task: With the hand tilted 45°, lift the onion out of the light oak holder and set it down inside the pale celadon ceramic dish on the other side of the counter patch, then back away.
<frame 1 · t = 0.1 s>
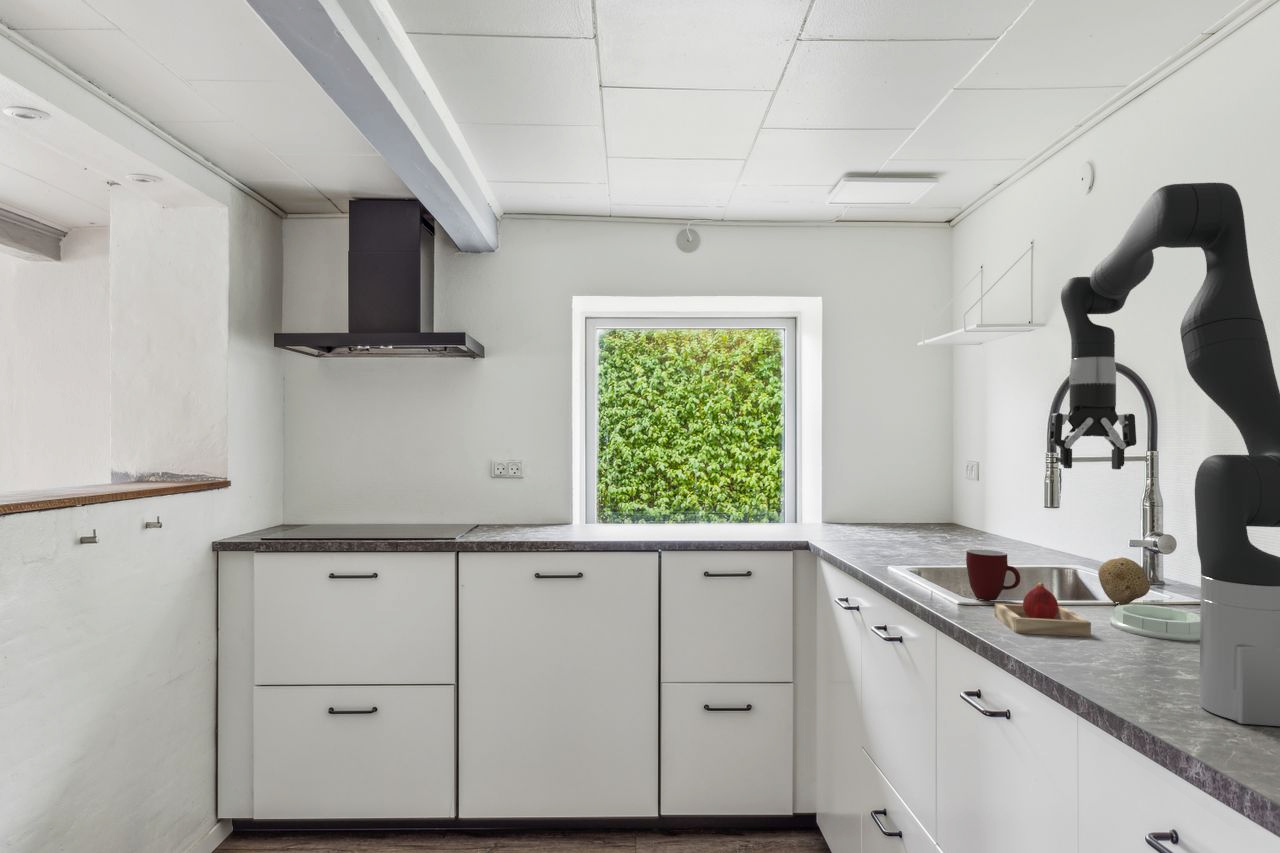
hand: (1092, 468, 142), 29 cm above the countertop, tool pointing down, fingers open, 8 cm apart
natural sponge: (1123, 606, 158), on the countertop
dish: (1158, 629, 139), on the countertop
holder: (1040, 625, 140), on the countertop
onion: (1040, 627, 140), resting in holder
mug: (992, 600, 162), on the countertop
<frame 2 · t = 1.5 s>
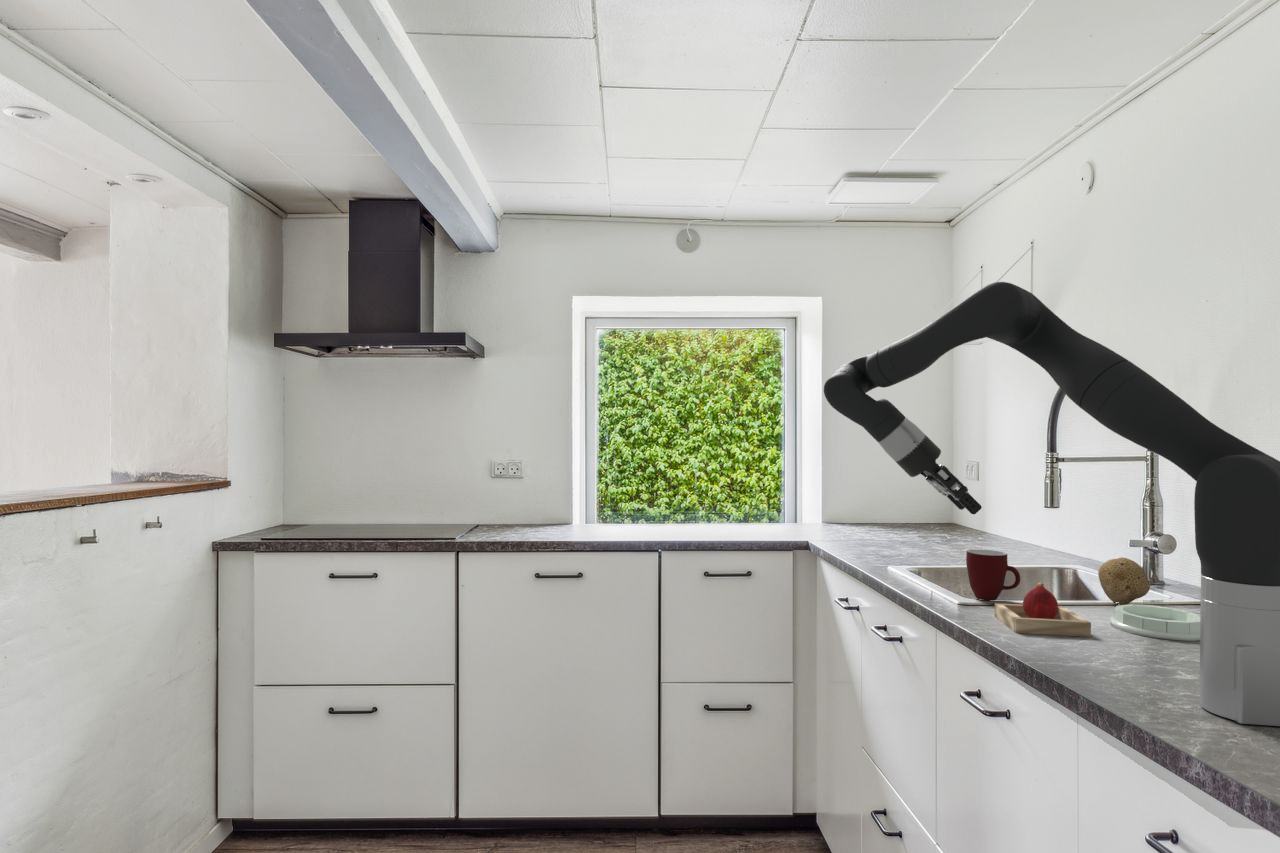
hand: (971, 508, 142), 21 cm above the countertop, tool tilted 45°, fingers open, 8 cm apart
nothing on the countertop moved.
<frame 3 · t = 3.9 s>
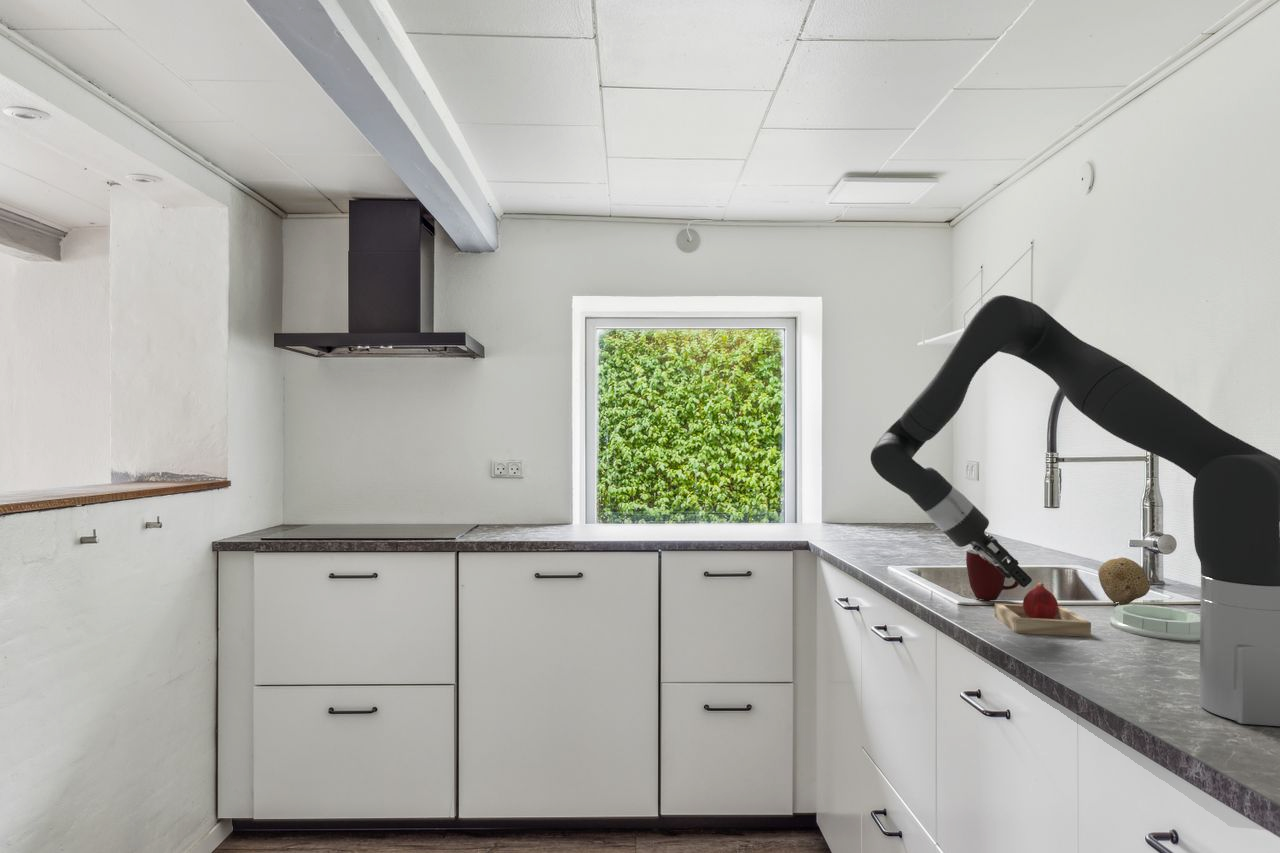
hand: (1019, 579, 141), 8 cm above the countertop, tool tilted 45°, fingers open, 8 cm apart
nothing on the countertop moved.
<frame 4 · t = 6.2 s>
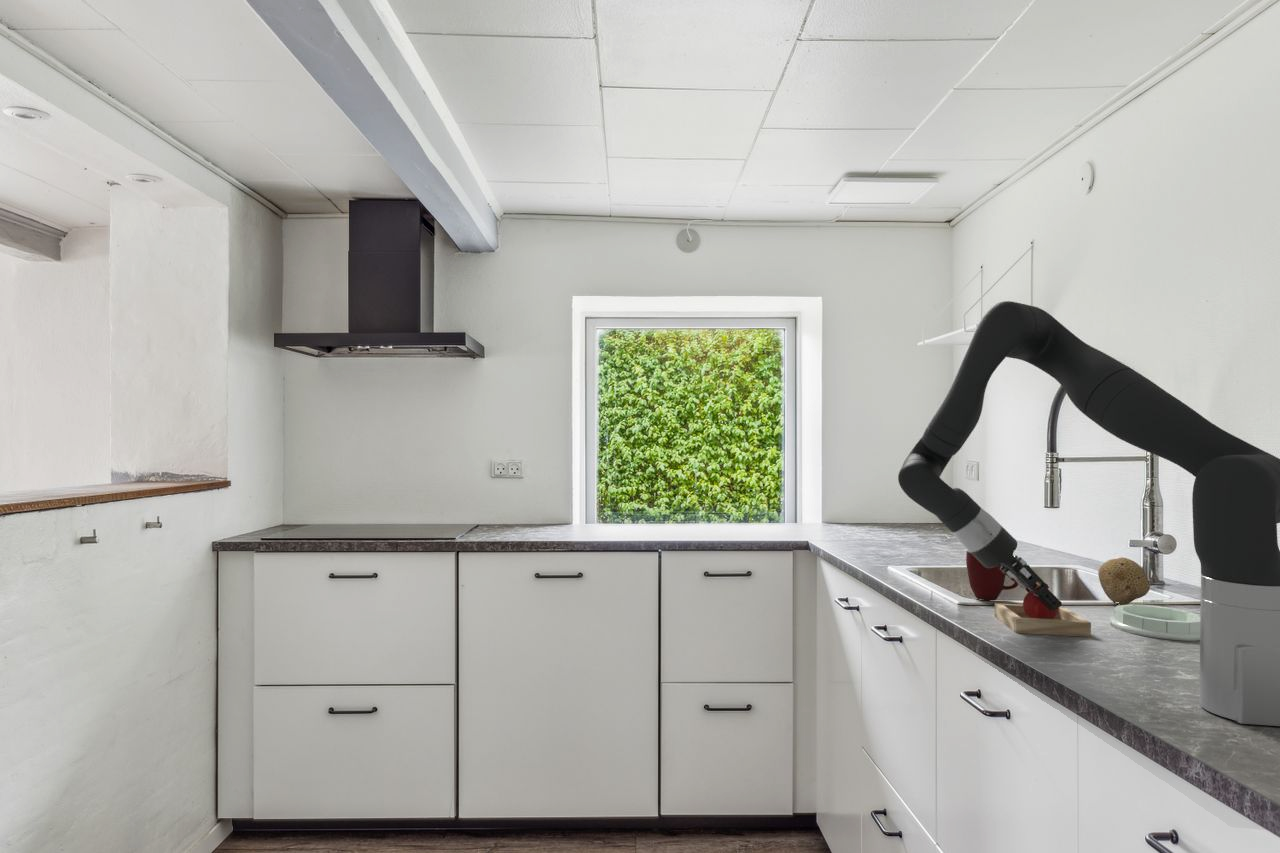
hand: (1050, 603, 140), 4 cm above the countertop, tool tilted 45°, fingers closed on onion, 6 cm apart
onion: (1040, 626, 140), resting in holder, touching gripper
everything else where it was.
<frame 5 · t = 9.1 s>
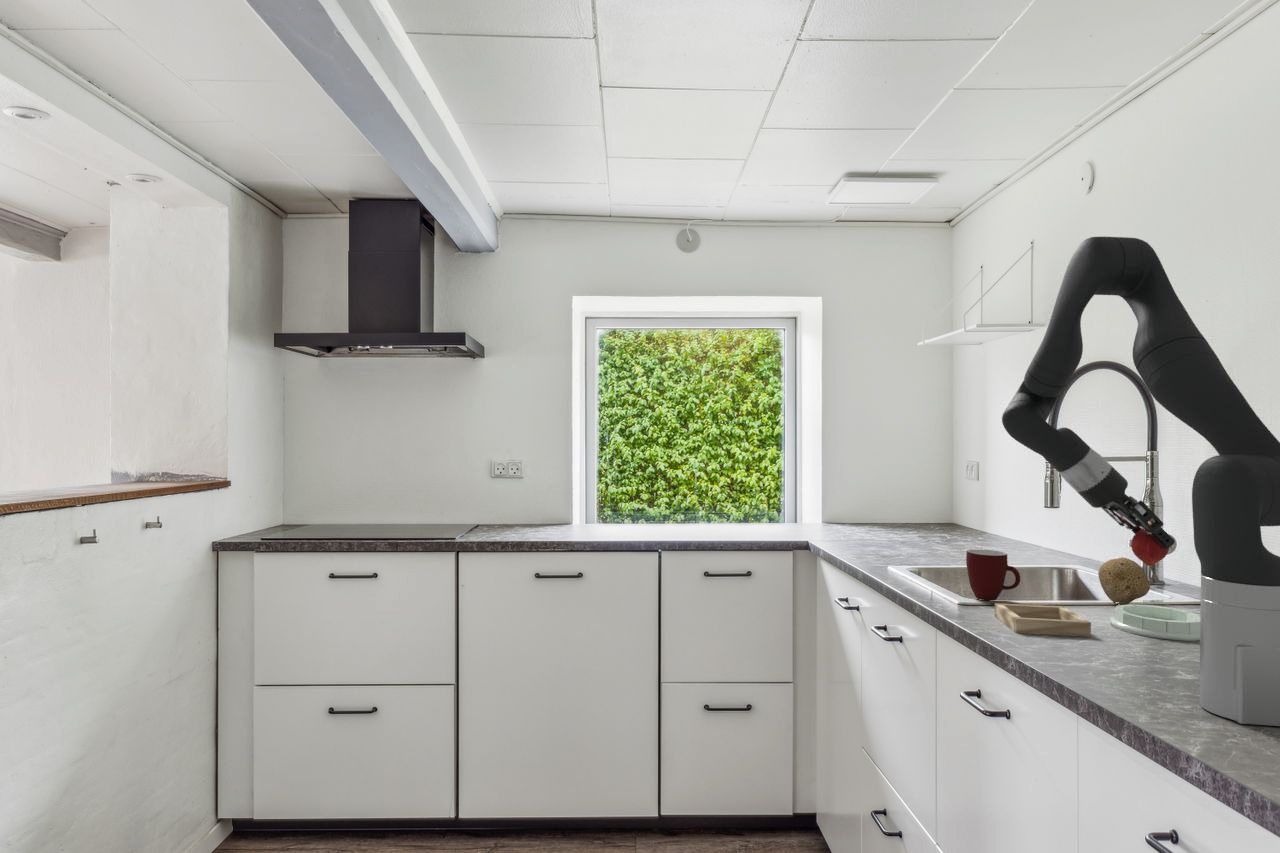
hand: (1160, 542, 139), 16 cm above the countertop, tool tilted 45°, fingers closed on onion, 6 cm apart
onion: (1149, 566, 139), point 11 cm above the countertop, touching gripper
everything else where it was.
when the fingers open (7 cm above the countertop, at t = 12.0 s): onion drops 1 cm, resting on dish.
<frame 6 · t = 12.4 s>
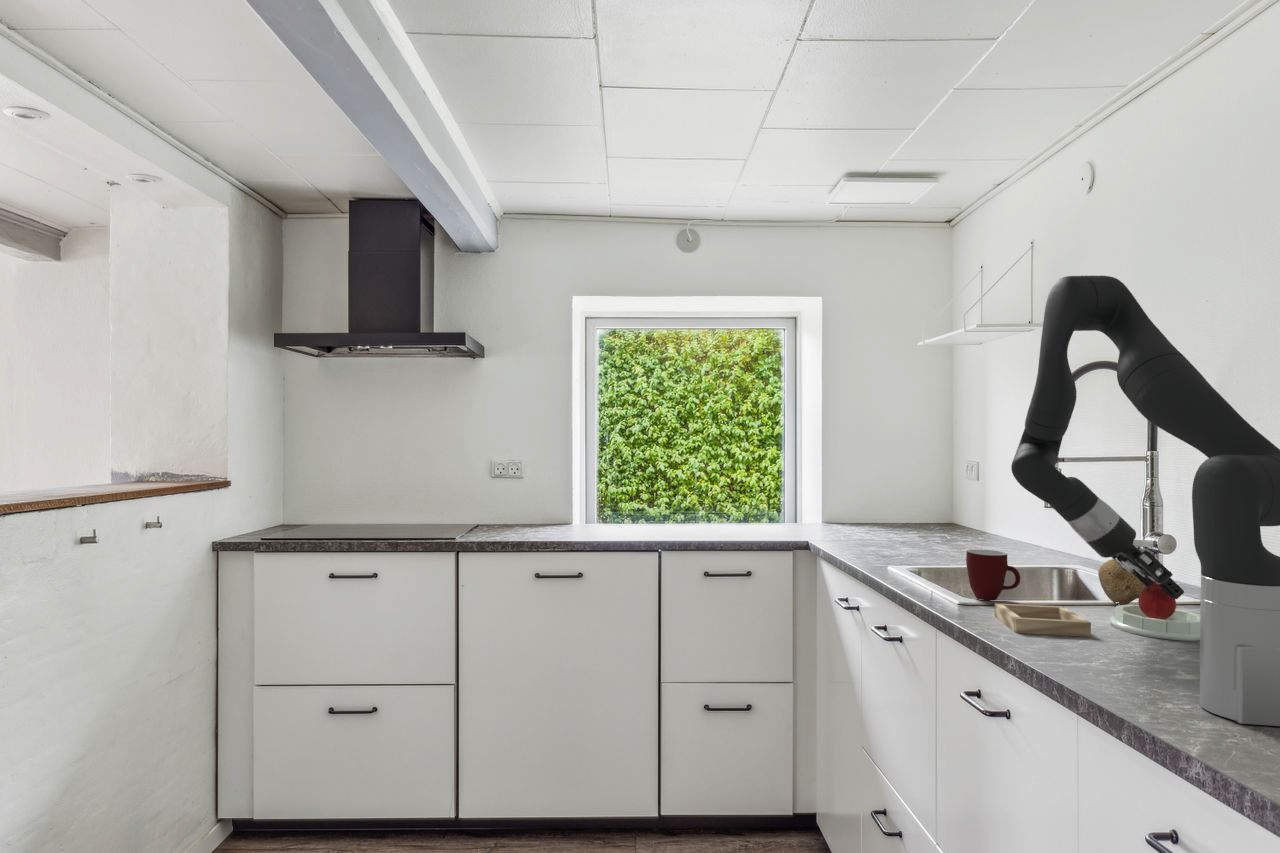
hand: (1166, 590, 139), 7 cm above the countertop, tool tilted 45°, fingers open, 8 cm apart
onion: (1156, 624, 139), point 1 cm above the countertop, touching dish
everything else where it was.
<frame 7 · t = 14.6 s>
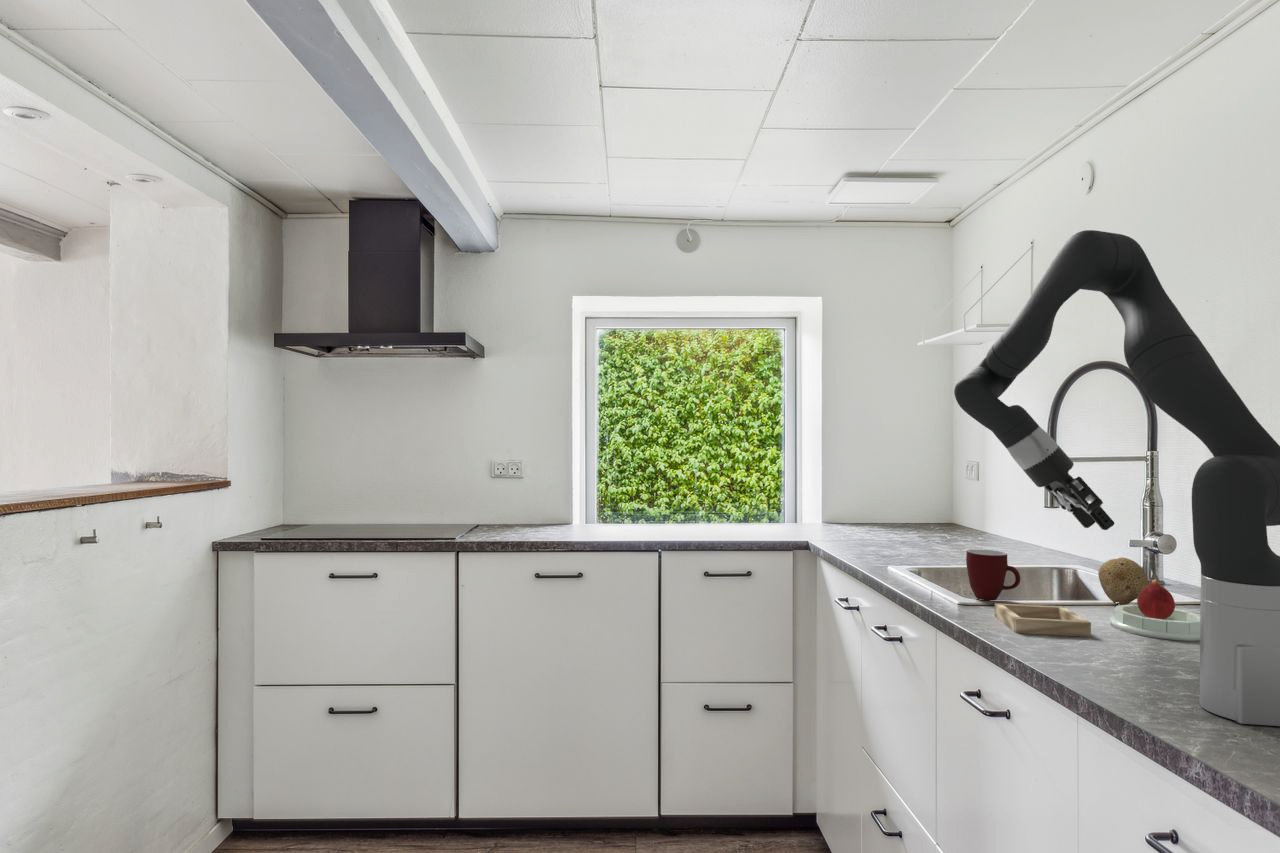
hand: (1099, 526, 138), 19 cm above the countertop, tool tilted 40°, fingers open, 8 cm apart
nothing on the countertop moved.
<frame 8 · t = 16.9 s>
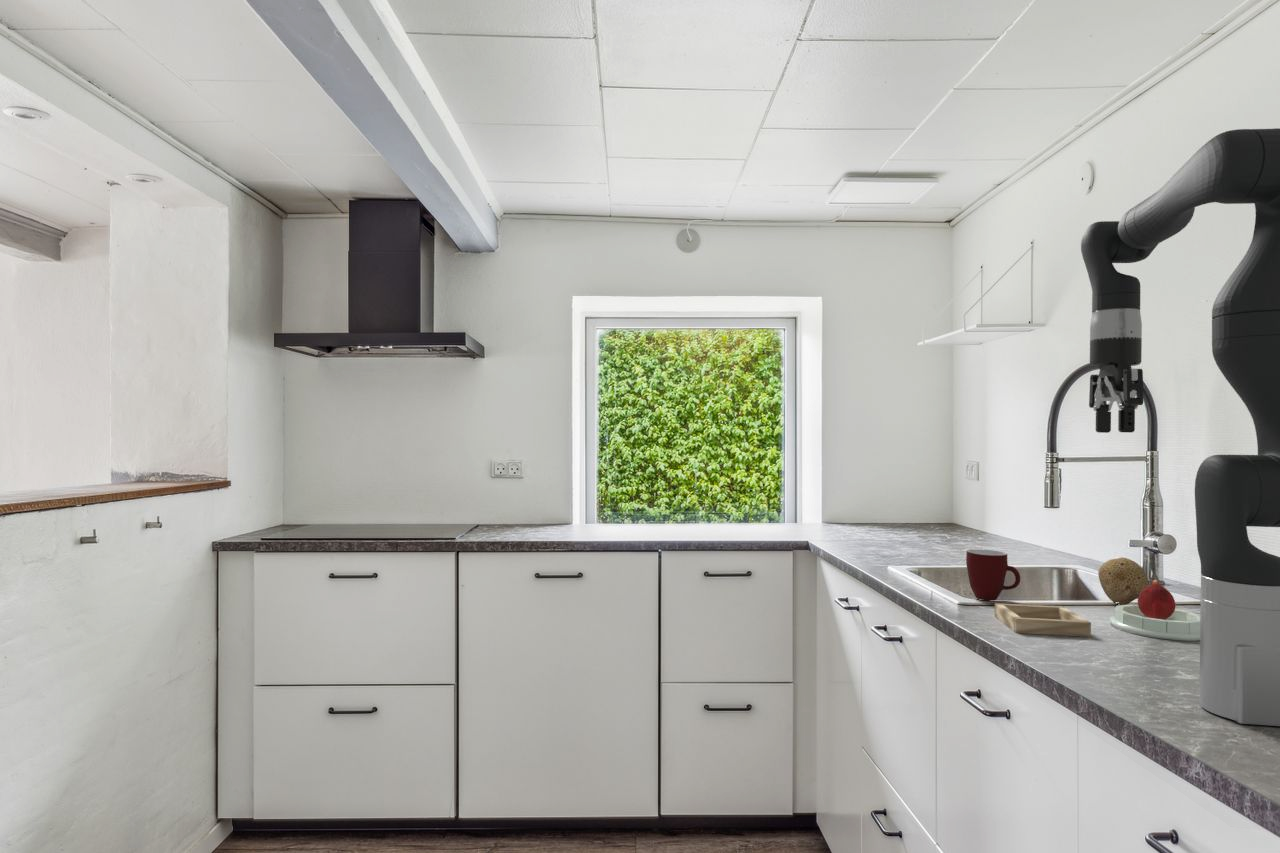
hand: (1114, 432, 129), 36 cm above the countertop, tool pointing down, fingers open, 8 cm apart
nothing on the countertop moved.
at the end: onion 0.4 cm off-centre on the dish, point 0.8 cm above the dish's base; the gripper is holding nothing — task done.
